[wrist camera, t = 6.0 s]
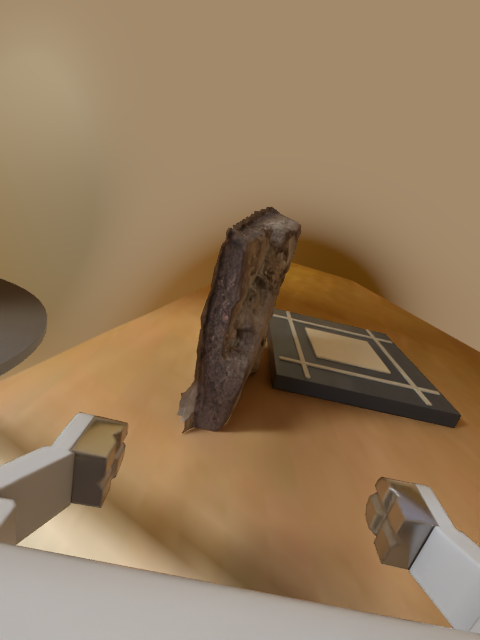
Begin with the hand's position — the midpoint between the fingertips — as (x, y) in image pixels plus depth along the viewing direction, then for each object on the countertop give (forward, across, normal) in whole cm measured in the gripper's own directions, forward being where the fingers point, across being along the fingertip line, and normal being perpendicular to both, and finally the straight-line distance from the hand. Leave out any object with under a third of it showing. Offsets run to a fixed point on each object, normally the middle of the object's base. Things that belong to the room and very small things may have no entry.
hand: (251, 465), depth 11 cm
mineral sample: (+18, 0, +9) cm, 20 cm away
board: (+30, -13, +8) cm, 34 cm away
